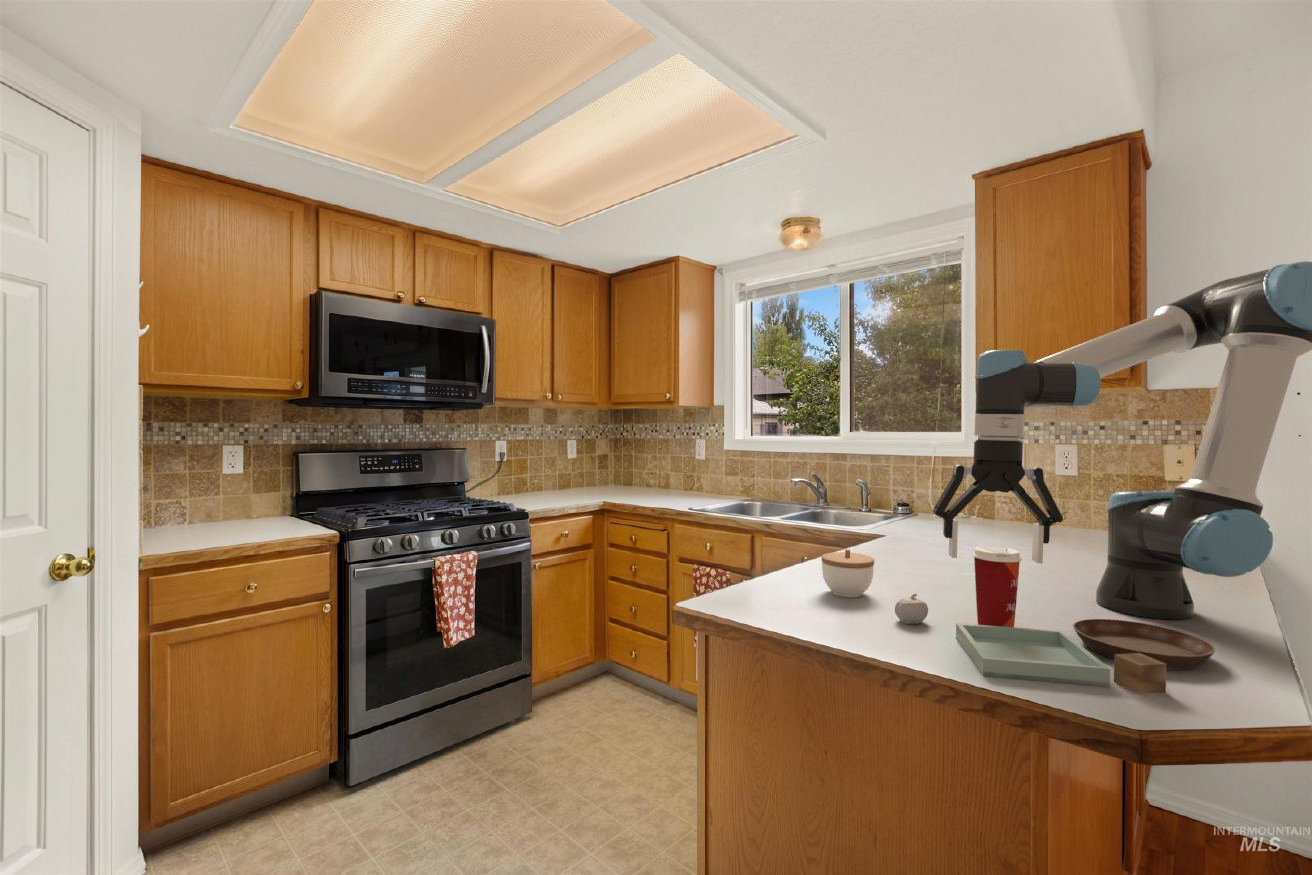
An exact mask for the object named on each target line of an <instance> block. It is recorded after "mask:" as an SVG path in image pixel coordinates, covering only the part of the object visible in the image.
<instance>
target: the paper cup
mask: <svg viewBox="0 0 1312 875" xmlns="http://www.w3.org/2000/svg"><path fill="white" fill-rule="evenodd" d="M971 556H972V557H973V558H974V559H973V560H974V577H975V578H974V580H975V601H976V602H975V603H976V618H977V619H976V620H977V625H988V626H1002V627H1015V621H1016V611H1017V609H1016V608H1017V600H1018V599H1017V598H1018V586H1019V577H1020V576H1019V573H1020V562H1021V561H1022V560H1023V559H1022V557H1020V556H1021V555H1020V552H1019V551H1018V550H1016V549H1013V548H1010V547H1009V548H1008V547H1004V546H1003V547H1002V546H993V545H990V546H989V545H987V546H986V545H985V546H984V545H980V546H976V547H975V548H974V552H973V553H972V554H971Z"/></svg>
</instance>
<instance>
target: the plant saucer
mask: <svg viewBox="0 0 1312 875" xmlns="http://www.w3.org/2000/svg"><path fill="white" fill-rule="evenodd" d="M1072 627H1073V630H1074V631H1075V633H1076V635H1077V636H1078V637H1079V638H1080V640H1081V641H1083V643H1084V644H1085V645H1086V646H1087V647H1088V648H1089V649H1091V650H1092V651H1094V652H1096V653H1098V654H1099V655H1102V656H1105V657H1107V658H1111V659H1113V660H1114V654H1130V653H1141V654H1143V655H1146V656H1148V657H1151V658H1153V659H1156V660H1158V661H1160V662H1163V663H1165V664H1166V670H1189V669H1195V668H1196V667H1199V666H1200V665H1201V664H1203V663H1205V662H1206V661H1207V660H1208V659H1210V658H1211V657H1212V656H1213V654H1215V652H1216V648H1215V647H1214V645H1212V644H1211V643H1210V642H1208V641H1206V640H1204V639H1203V638H1200V637H1197V636H1195V635H1193V634H1190V633H1185V632H1182V631H1181V630H1175V629H1172V628H1168V627H1164V626H1159V625H1155V624H1150V623H1149V624H1148V623H1143V622H1137V621H1131V620H1122V619H1121V620H1120V619H1109V618H1092V619H1091V618H1090V619H1088V618H1087V619H1082V620H1078V621H1075V622H1074V623H1073V626H1072Z"/></svg>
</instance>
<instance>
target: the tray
mask: <svg viewBox="0 0 1312 875" xmlns="http://www.w3.org/2000/svg"><path fill="white" fill-rule="evenodd" d="M955 638H956V640H957V642H958V643H959V644H960V645H961V647H962V648H963V650H964V651H965V653H966V655H967V656H968V657H969V658H970V659H971V661H972V662H973V664H974V665H975V667H976V668H977V669H978V671H979V672H980V674H981V675H982V676H983V677H993V678H1004V679H1005V678H1006V679H1014V680H1016V679H1018V680H1028V681H1038V682H1039V681H1041V682H1050V683H1063V684H1070V685H1071V684H1073V685H1083V686H1084V685H1085V686H1094V687H1106V688H1107V687H1108V688H1110V687H1111V685H1110V684H1111V683H1110V682H1111V668H1110V667H1108V666H1107V665H1106V664H1105V663H1103V662H1102V661H1101V660H1100V659H1099V658H1097V657H1096V656H1094V655H1093V654H1092V653H1091V652H1089V651H1088V650H1087V649H1086V648H1085V647H1084V646H1082V645H1081V644H1079V642H1077V641H1076V640H1074V639H1073V638H1072V637H1071V636H1070V635H1069V634H1067V633H1066V632H1064V631H1063V630H1059V629H1058V630H1056V629H1040V628H1027V627H1015V626H1014V627H1002V626H988V625H978V624H970V623H969V624H968V623H957V622H956V623H955Z"/></svg>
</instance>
